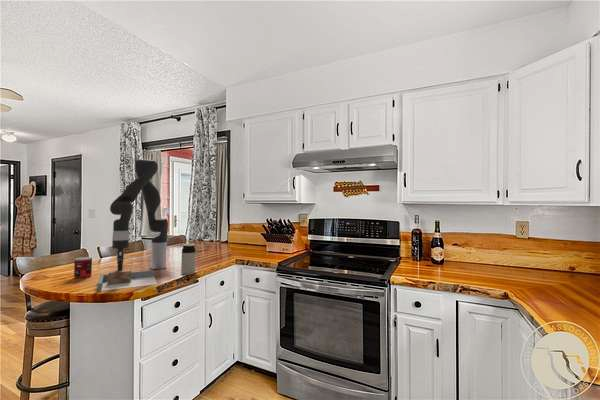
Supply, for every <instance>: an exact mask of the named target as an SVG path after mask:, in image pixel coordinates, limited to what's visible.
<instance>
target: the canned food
mask: <svg viewBox="0 0 600 400" xmlns="http://www.w3.org/2000/svg"><path fill="white" fill-rule="evenodd" d="M92 267H93V257H92V256H84V257H83V256H80V257H76V258H74V267H73V268H74V269H73V278H74V279H76V280H83V279H89V278H91V277H92V270H93V268H92Z"/></svg>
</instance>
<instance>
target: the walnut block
mask: <svg viewBox="0 0 600 400" xmlns="http://www.w3.org/2000/svg"><path fill="white" fill-rule="evenodd" d="M131 272H132V270H131V269H123V270H122V271H118V269H117V270H109V271H108V274H109V275H108V285H111V284H120V283H129V282H131Z"/></svg>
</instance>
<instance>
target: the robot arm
mask: <svg viewBox="0 0 600 400" xmlns="http://www.w3.org/2000/svg"><path fill="white" fill-rule="evenodd" d="M158 168H159V166H158V163H157V162H156V161H155V160H153V159H144V158H139V159H136V161H135V163H134V169H135V172H136V175H137V178H136V179H134V180H132V181H131V182H130V183H129V184H128V185H127V186H126V187H125V189H124V191H122V193H121V195H118V197H117V198H116V199H115V200H113V201H112V203H111V205H110V207H109V210H110V212H111V214H113V215H114V216H115V215H117V216H120V217H119V219H115V220H114V221H113V224H112V225H113V226H112V227H113V228H112V229H113V230H112V238H111V239H112V240H111V241H112V243H111V244H112V245H111V248H112V249H115V250H116V252H115V256H116V257H115V259H116V263H117V270H118V271H122V270H124V268H123V267H124V265H123V264H124V260H125V253H126V251H125V250H124V249H127V248H129V247H130V231H129V229H130V227H129V223H130V220H131V217H132V214H133V212H134V211H133V209H134V208H133V205H132V203H133V202H135V201H136V200H137V197H138V196H139V195H140V192H142V196H143V201H144V205H145V208H146V214H147V219H148V220H147V221H148V222H147V223H148V228H149V231H151V233H160V234H159V235H157V236H154V237H152V238H151V248H150V250H151V251H150V253H151V254H150V270H159V269H165V268H166V267H167V250H168V249H167V245H168V244H167V241H168V230H169V221H168V219H167V218H160V217H159V218H157V217H156V212H157V211H158V208H160V207H159V206H160V204H161V195H160V192H159V189H157V187H156V186H155V185H154V184H153V182H152V181H151V179H153V177H154V176H155V175H156V173H157V172H158Z"/></svg>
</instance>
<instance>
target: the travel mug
mask: <svg viewBox="0 0 600 400" xmlns="http://www.w3.org/2000/svg"><path fill="white" fill-rule="evenodd" d="M195 245H196V244H195V243H184V244H182V248H181V265H180V266H181V269H180V270H181V271H180V273H181V275H185V276H188V275H193V274H195V273H196V248H195Z"/></svg>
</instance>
